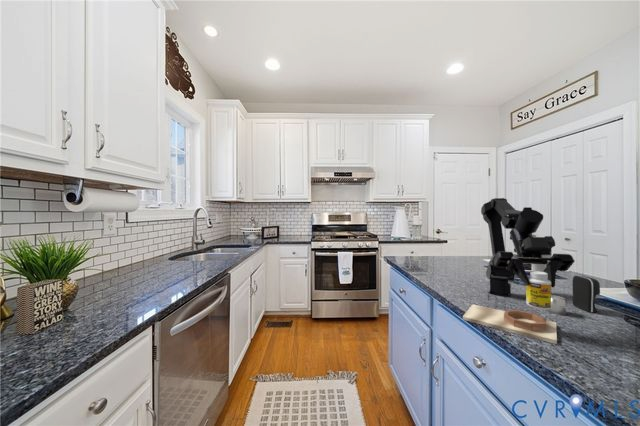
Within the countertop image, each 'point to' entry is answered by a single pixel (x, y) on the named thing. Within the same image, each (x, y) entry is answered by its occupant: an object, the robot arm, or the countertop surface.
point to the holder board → (500, 324)
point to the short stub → (557, 305)
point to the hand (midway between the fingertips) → (540, 285)
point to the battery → (585, 292)
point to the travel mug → (538, 266)
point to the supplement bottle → (538, 291)
